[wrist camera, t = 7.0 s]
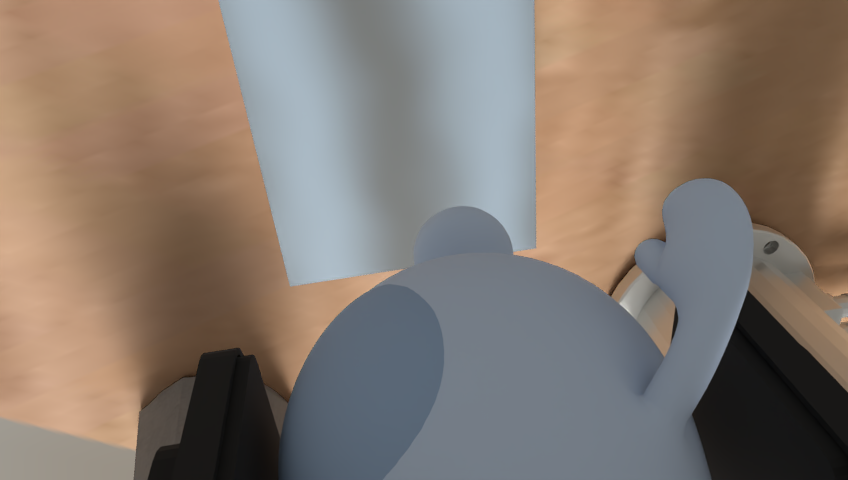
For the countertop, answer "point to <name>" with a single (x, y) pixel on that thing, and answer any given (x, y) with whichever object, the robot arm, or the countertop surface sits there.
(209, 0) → the countertop surface
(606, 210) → the countertop surface
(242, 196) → the countertop surface
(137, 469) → the coffeepot
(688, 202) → the toy figure
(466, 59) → the silver block
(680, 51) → the countertop surface
